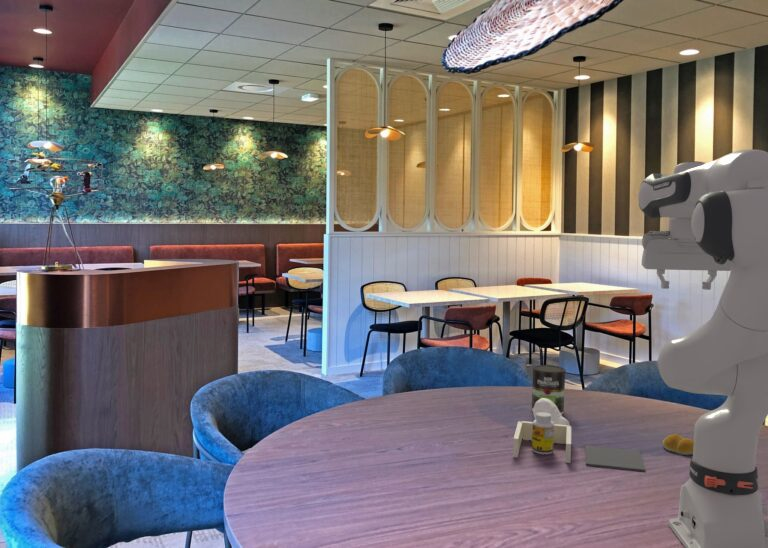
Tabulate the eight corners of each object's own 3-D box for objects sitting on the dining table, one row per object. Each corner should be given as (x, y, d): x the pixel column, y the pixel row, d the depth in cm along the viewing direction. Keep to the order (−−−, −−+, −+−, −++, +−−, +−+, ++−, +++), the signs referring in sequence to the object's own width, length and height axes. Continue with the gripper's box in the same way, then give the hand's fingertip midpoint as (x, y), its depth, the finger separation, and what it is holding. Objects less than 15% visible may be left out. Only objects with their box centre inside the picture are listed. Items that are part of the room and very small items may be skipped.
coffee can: (563, 417, 210) (565, 373, 208) (530, 414, 213) (531, 370, 211) (564, 408, 219) (566, 366, 218) (532, 405, 222) (533, 363, 221)
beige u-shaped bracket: (570, 463, 170) (571, 444, 170) (513, 457, 174) (513, 438, 174) (570, 443, 185) (571, 425, 185) (517, 438, 189) (518, 420, 189)
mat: (645, 471, 165) (645, 469, 165) (586, 465, 169) (586, 463, 169) (639, 452, 179) (639, 450, 178) (585, 447, 182) (585, 445, 182)
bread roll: (691, 458, 175) (691, 443, 175) (658, 449, 182) (659, 435, 182) (705, 451, 181) (706, 437, 180) (672, 442, 187) (673, 428, 187)
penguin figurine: (546, 394, 203) (577, 408, 193) (543, 421, 204) (574, 436, 194) (531, 397, 199) (562, 411, 190) (528, 424, 201) (559, 439, 191)
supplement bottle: (528, 449, 180) (529, 412, 179) (546, 447, 182) (547, 410, 181) (538, 456, 175) (539, 418, 174) (557, 454, 177) (558, 416, 176)
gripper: (645, 231, 158) (643, 289, 159) (738, 232, 155) (735, 291, 156) (639, 230, 164) (637, 286, 165) (728, 231, 161) (725, 288, 162)
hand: (685, 288), depth 161 cm, fingers open, 8 cm apart
